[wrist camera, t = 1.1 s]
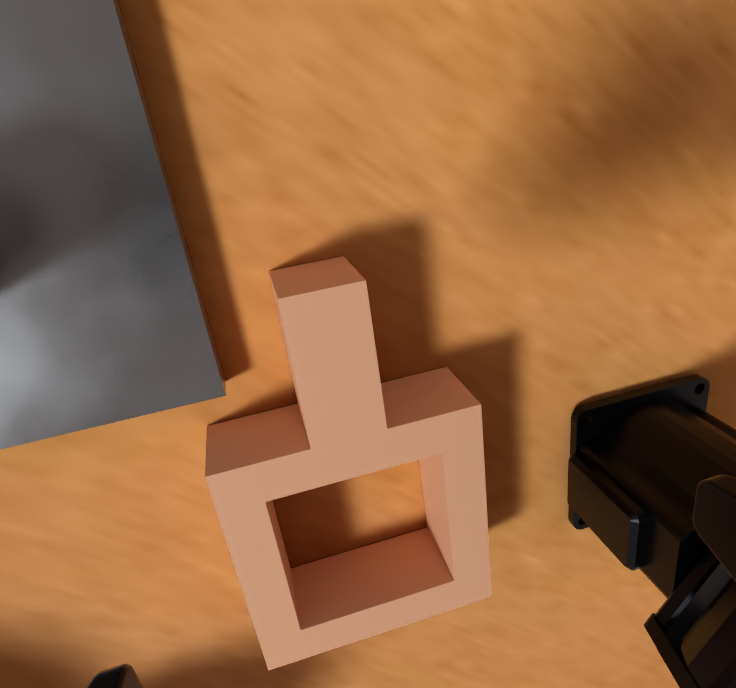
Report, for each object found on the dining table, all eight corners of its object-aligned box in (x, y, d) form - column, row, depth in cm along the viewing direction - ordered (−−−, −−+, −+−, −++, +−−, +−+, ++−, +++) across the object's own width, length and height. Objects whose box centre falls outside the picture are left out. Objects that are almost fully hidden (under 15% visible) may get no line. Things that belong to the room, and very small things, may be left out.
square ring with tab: (435, 237, 18) (473, 257, 16) (461, 543, 24) (491, 596, 21) (165, 292, 17) (155, 324, 14) (262, 604, 23) (268, 670, 20)
